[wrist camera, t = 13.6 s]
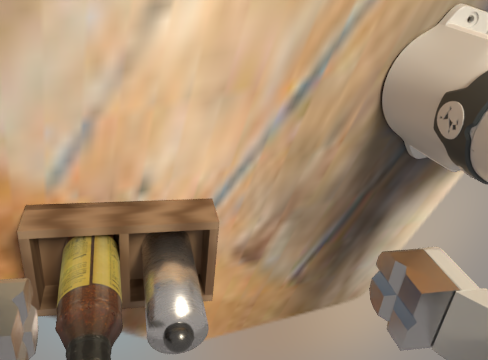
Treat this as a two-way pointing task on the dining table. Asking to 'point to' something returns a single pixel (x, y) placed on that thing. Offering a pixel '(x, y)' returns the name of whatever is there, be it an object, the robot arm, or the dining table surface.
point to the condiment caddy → (127, 237)
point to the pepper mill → (172, 293)
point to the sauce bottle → (89, 297)
